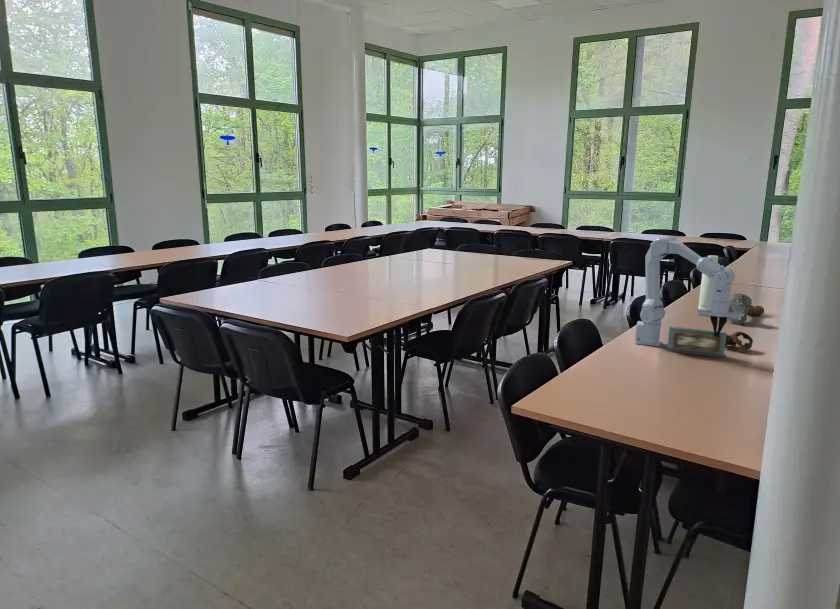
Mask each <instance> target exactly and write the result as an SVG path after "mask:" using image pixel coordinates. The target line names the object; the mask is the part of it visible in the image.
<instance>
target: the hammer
mask: <svg viewBox="0 0 840 609" xmlns="http://www.w3.org/2000/svg"><path fill="white" fill-rule="evenodd" d="M752 303H753V301H752V298H750V297H749V295H747V294H744V293H733V294H731V296H730V301H729V309H728V312H729V313H735V314H741V320H737V319H727V321H728V322H730V323H732V324H734V325H736V326H737V325H739V326H740V325H743V324H744V323H746V322H747V320H748V318H747V315H754V316H756V317H757V316H758V317H760V316H762V315H763V314H764V312H765V308H764V307H763V306H762V305H756V306H754V305H753V304H752Z"/></svg>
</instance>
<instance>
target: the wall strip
mask: <svg viewBox="0 0 840 609" xmlns="http://www.w3.org/2000/svg"><path fill="white" fill-rule="evenodd" d="M674 332H684V333H694V334H704V335H714V330H708V329H699V328H690V327H682V326H680V327H679V326H669V330H668V338H667V347H666V351H667V352H673V353H683V354H689V355H690V354H692V355H699V356H706V357H707V356H708V357H715V358H725V351H726V350H725V349H726V347H725V343H726V335H728V333H727V331H721V332H720V335H719V336H721V339H720V348H719V352H711V351H702V350H692V349H683V348H674V347H673V342H674ZM716 336H717V335H716Z"/></svg>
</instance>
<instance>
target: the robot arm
mask: <svg viewBox="0 0 840 609" xmlns="http://www.w3.org/2000/svg"><path fill="white" fill-rule="evenodd" d="M649 246H650V247H649V249H648V250H647V252H646V255H645V257H644V258H645V262H644V263H645V300H644V302H643V303H642V306H641V307H642V308H641V311H640V313H639V317H640V320H638V321H637V322H636V329H635V334H634V339H635V341H634V344H638V345H645V346H652V347H661V343H662V342H661V341H662V340H660V339H661V328H662V319H664V317H665V315H666V310H665V308H664V303H663V300H661V278H660V276H661V275H660V274H661V260H662V259H663V258H665V257H666V256H667V255H670V254H671V255H672V254H673V255H674V254H675V255H679V256H681V257H682V258H684V259H686V260H688V261H689V262H691V263H692V264H694V265H695V266H696V270H697V271H699V272H701V274H702V273H703V274H705V275H706V276H708V277H709V278H711V279H712V281H713V283H714V290H713V298H712V306H711V311H707V310H701V309H698V310H697V317H708V318H710V322H711V324H712V328H713V331H714V337H716V335H717V337H719V335H720V332H722V329H723V328H724V326H725V325H726V324H727V322H728V319H737V320H741V314H735V313H729V312H728V309H729V302H730V300H731V291H732V290H731V289H732V283H733V282H734V281H735V278H736V275H735V272H734V271H733V270H732V269H731V268H728V267H726V268H725V265H723V264H722V265H719V264H720V263H718V262H717V263H718V264H717V263H716V262H714V261H713V258H711V257H710V258H708V256H704V257H702V256H700V254H698V253H696V252H695V251H694V250H692V249H691V248H689V247H688V246H687V245H685V244H684V243H683V242H682V241H681V240H679V239H676V238H675V237H673V236H666V237H658V238H655V240H653V241H652V242H651V243H650V244H649Z"/></svg>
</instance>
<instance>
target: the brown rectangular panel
mask: <svg viewBox="0 0 840 609" xmlns="http://www.w3.org/2000/svg"><path fill="white" fill-rule="evenodd" d="M720 339H721V336H719V337H717V336H716V337H714V335H704V334H694V333H684V332H674V342H673V347H674V348H683V349H692V350H702V351H711V352H719V348H720Z"/></svg>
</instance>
